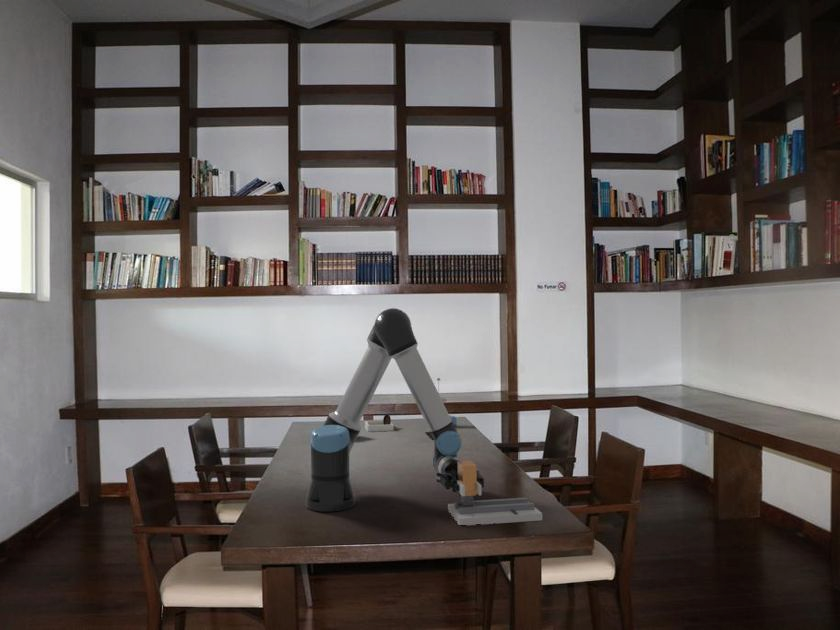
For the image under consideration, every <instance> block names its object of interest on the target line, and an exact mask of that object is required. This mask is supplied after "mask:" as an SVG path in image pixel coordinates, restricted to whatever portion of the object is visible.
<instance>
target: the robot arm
mask: <svg viewBox="0 0 840 630" xmlns="http://www.w3.org/2000/svg"><path fill="white" fill-rule="evenodd" d="M411 321H412V320H411V319H410V317H409V316H408V314H407V313H406V312H405V311H403V310H401V309H398V308H396V307H395V308H394V307H393V308H387V309H385V310H382V311H381V312H380V313H379V314H378V315H377V317H376V318H375V322H374V324H373V326H372V329H371V331H370V332H369V335H368V337H367V338H366V342H367V343H368V344H367V345H368V346H367V348H366V351H365V352H364V354H363V356H362V359H361V361H360V362H359V364H358V366H357V368H356V370H355V372H354V374H353V377H352V378H351V380H350V381H349V384H348V386H347V388H346V389H345V390H346V391H344V394H343V396H342V398H341V400H340V402H339V404H338V406H337V408H336V410H335V411H333V412H329V414H328V416H326V420H325V421H324V424H323V425H321V426H318V427H316V428H314V429H313V430H312V432H311V435H310V440H309V441H310V462H311V463H310V468H311V469H310V471H311V472H310V473H311V474H310V475H311V476H310V479H311V480H310V483H309V487H308V490H307V493H306V497H305V507H306V508H307V509H308V510H310V511H315V512H321V513H322V512H325V513H327V512H329V513H330V512H339V511H341V512H342V511H344V510H345V511H346V510H348V509H351V508H353V507H355V505H356V495H355V492H354V488H353V485H352V482H351V480H350V479H351V478H350V453H351V451H352V449H353V446H354V444H355V442H356V440H357V438H358V436H359V434H360V433H361V430H362V428H361V424H360V422H361V419H362V418H363V416H364V415H365V413H366V410H367V408H368V406H369V404H370V402H371V400H372V398H373V397H374V394H375V392H376V390H377V389H378V386H379V384H380V383H381V381H382V378H383V376H384V374H385V372H386V371H387V368H388V366H389V364H390V362H391V360H392V359H393V360H394V361H395V362H396V365H397V366H398V369H399V371H400V373H401V374H402V377H403V380H404V381H405V383H406V385H407V387H408V389H409V391H410V393H411V396H412V397H413V399H414V402H415V403H416V406H417V408H418V410H419V412H420V413H421V416H422V418H423V420H424V421H425V424H426V426H427V428H428V430H429V432H431V434H432V436H433V438H434V440H433V442H434V448H433V449H434V450H433V452H434V453H433V455H432V457H431V463H432V467H433V468H434V470H435V471H436V482H437V483H440V485H442V487H443V488H445V490H450V489H451V488H452V489H451V490H452V492H453V493H457V492H458V493H459V494H460V496H461V495H462V496H465V486H464V485H463V484H462V483H461V482H460V481H458V461H460V460H459V458H458V453H459V452H460V450H461V449H462V444H463V443H462V439H461V438H462V437H461V436H460V434H459V432H458V421H457V417H456V416H454V415H449V412H448V409H447V408H446V406H445V404H444V402H442V399H441V397H442V396H440V393H438V390H437V387H436V385H435V383H434V381H433V379H432V377H431V375H430V373H429V370H428V369H427V367H426V365H425V362H424V361H423V359H422V356H421V354H420V352H419V350H418V345H419V343H418V342H417V339H416V336H415V334H414V331H413V327H412V323H411ZM484 487H485V478H484V477H483V476H482V475H481V474H480V471H479V470H477V495H478V496H482V494H483V493H482V490H483V489H482V488H484Z"/></svg>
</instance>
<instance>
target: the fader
mask: <svg viewBox="0 0 840 630" xmlns="http://www.w3.org/2000/svg"><path fill="white" fill-rule="evenodd" d="M477 467H478V466H477V464H475V462H473V460H459V461H458V481H460V482H461V483H462V484H463V485H464V486H465V496H462V495H461V494H460V501H461V504H459V507H468V506H475V504H474V502H473V501H474V496H477V495H478V494H477V471H478V469H477Z"/></svg>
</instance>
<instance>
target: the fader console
mask: <svg viewBox="0 0 840 630" xmlns="http://www.w3.org/2000/svg"><path fill="white" fill-rule="evenodd" d="M473 502H474V504H475V506H468V507H459V504H461V500H460V501H454V502H453V503H448V504H447V509H448V510H449V511H448V510H447V511H448V512H449V514H450V513H451V514H450V515H451V517H452V518H453V517H454V518H453V520H454V521H455V522H456V521H457V522H456V523H457V525H458V526H459V525H467V526H477V525H476V524H481V525H493V524H494V523H495V524H507V523H509V524H510V523H521V522H522V523H523V522H535V521H537V522H538V521H543V512H541V511H540V510H539V509H538V508H537V507H535V503H534V502H529V499H528V497H512V498H509V497H508V498H497V499H496V498H494V499H481V500H479V499H478V500H473Z"/></svg>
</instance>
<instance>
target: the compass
mask: <svg viewBox="0 0 840 630" xmlns="http://www.w3.org/2000/svg"><path fill="white" fill-rule="evenodd" d="M382 421H383V423H384V425H388V424H390V422H392V421H391V416H390V414H385V415H384V416H383V419H382Z"/></svg>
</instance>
